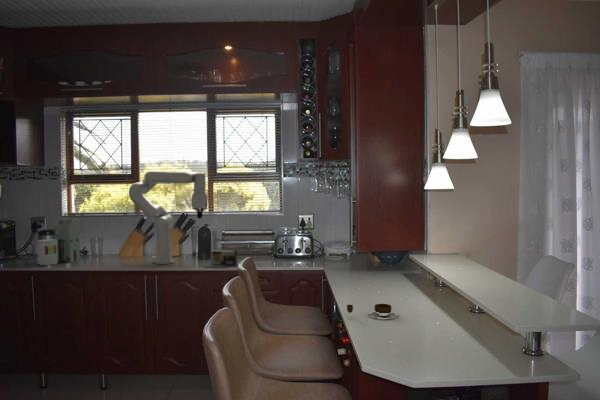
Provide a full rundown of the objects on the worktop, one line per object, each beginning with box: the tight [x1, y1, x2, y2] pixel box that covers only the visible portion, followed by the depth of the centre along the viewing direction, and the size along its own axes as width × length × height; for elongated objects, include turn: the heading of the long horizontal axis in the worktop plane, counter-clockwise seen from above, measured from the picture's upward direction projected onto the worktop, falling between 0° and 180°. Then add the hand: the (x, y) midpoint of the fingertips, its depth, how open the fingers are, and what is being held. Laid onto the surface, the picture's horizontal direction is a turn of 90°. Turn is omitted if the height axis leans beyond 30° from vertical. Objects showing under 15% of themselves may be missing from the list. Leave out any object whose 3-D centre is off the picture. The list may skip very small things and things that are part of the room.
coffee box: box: [210, 249, 238, 266], centre depth 316 cm, size 9×6×16 cm
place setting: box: [346, 303, 392, 314], centre depth 202 cm, size 18×20×6 cm
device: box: [54, 217, 81, 263], centre depth 335 cm, size 16×8×30 cm, turn 60°
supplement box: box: [36, 238, 58, 266], centre depth 323 cm, size 10×9×17 cm
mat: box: [203, 263, 229, 269], centre depth 314 cm, size 12×17×1 cm
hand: (199, 217), depth 323 cm, fingers closed
